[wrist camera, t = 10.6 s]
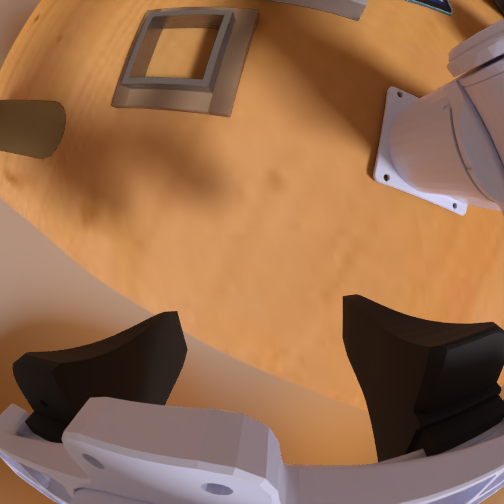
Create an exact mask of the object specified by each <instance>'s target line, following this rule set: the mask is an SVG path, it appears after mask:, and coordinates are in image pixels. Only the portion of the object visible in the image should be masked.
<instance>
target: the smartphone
mask: <svg viewBox="0 0 504 504" xmlns="http://www.w3.org/2000/svg"><path fill="white" fill-rule="evenodd" d="M405 1H408V2H412V3H415V4H419V5H421V6H424V7H428V8H430V9H433V10H437V11H439V12H442V13H444V14H446V15H452V14H453V9H452V7H451V5H450V3H449V1H448V0H405Z"/></svg>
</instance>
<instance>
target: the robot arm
mask: <svg viewBox="0 0 504 504" xmlns="http://www.w3.org/2000/svg"><path fill="white" fill-rule="evenodd" d="M449 62H450V63H449V64H448V65H447V68H448V70H449V71H450V73H451V74H452V75H453V77H456V76H458V75H460V74H462V75H461V76H459V77H458V78H456V79H455V80H453V81H451V82H449V83H447V84H446V85H444V86H442V87H440V88H438V89H436V90H434V91H432V92H430V93H428V94H427V95H425V96H423V97H421V98H418V97H416V96H414V95H412V94H409V93H407V92H405V91H403V90H401V89H398V88H396V87H393V86H392V87H390V88H388V90H387V96H386V104H385V111H384V118H383V124H382V130H381V136H380V142H379V147H378V152H377V158H376V163H375V167H374V172H373V178H374V180H375V181H377V182H379V183H382V184H384V185H387V186H390V187H393V188H395V189H398V190H401V191H404V192H406V193H409V194H411V195H414V196H416V197H419V198H421V199H424V200H426V201H429V202H431V203H434V204H436V205H438V206H441V207H443V208H445V209H447V210H450V211H452V212H454V213H456V214H458V215H462V216H463V215H464V214H465V213H466V209H467V205H471V206H476V207H481V208H487V209H492V210H496V211H501V212H502V213H503V215H504V19H502V20H500V21H498V22H496V23H494V24H492V25H490V26H488V27H487V28H485V29H483V30H481V31H480V32H478V33H476V34H475V35H473V36H471V37H470V38H468V39H467V40H465V41H463V42H462V43H460V44H459V45H458V46H456V47H455V48H453V49H452V50H451V51H450V52H449ZM465 72H466V73H465ZM463 73H464V74H463ZM397 93H399V94H400V95H401V97H399V96H398V95H397ZM385 174H386V175H387V177H388V179H387V181H385V180H384V175H385ZM453 204H454V205H455V206H454V208H453ZM343 341H344V345H345V349H346V352H347V356H348V358H349V361H350V363H351V365H352V368H353V370H354V372H355V375H356V377H357V379H358V382H359V384H360V386H361V389H362V391H363V394H364V397H365V400H366V403H367V407H368V411H369V415H370V419H371V424H372V429H373V434H374V439H375V445H376V450H377V457H378V463H374V464H367V465H347V466H346V465H341V466H329V465H327V466H325V465H302V464H289V463H283V461H282V459H281V454H280V446H279V442H278V440H277V438H276V437H275V435H274V434H273V432H272V431H271V429H270V428H269V427H268V426H266V425H264V424H262V423H260V422H258V421H256V420H254V419H252V418H250V417H248V416H246V415H245V414H243V413H237V412H231V411H225V410H220V409H211V408H189V407H176V406H165V404H166V401H167V399H168V397H169V395H170V393H171V391H172V389H173V386H174V385H175V382H176V380H177V378H178V376H179V374H180V372H181V369H182V367H183V364H184V361H185V357H186V353H187V346H186V342H185V339H184V335H183V332H182V328H181V324H180V320H179V316H178V313H177V311H171V312H163V313H160V314H157V315H155V316H153V317H151V318H149V319H147V320H145V321H143V322H141V323H139V324H137V325H135V326H133V327H131V328H129V329H127V330H125V331H122V332H120V333H118V334H116V335H114V336H111V337H109V338H107V339H104V340H101V341H98V342H95V343H92V344H88V345H84V346H80V347H76V348H71V349H66V350H59V351H51V352H50V351H48V352H28V353H25V354H24V355H23V356H21V357H20V358H19V359H18V360H17V361H15V362H14V363H13V374H14V377H15V379H16V382H17V384H18V386H19V388H20V389H21V391H22V393H23V394H24V396H25V398H26V399H27V401H28V402H29V404H30V405H31V407H32V409H33V410H34V412H33V413H32V414H31V415H30V414H29V413H28V412H27V411H25V410H24V409H22V408H20V407H18V406H16V405H14V404H11V405H10V406H9V407H8V408H7V409H6V410H5V411H4V412H3V413H2V414H1V415H0V457H1V458H2V459H3V460H4V461H5V462H6V463H7V465H8V466H9V467H10V468H11V469H12V470H13V471H14V472H15V473H16V474H17V475H18V476H20V477H21V478H22V479H24V480H25V481H26V482H28V483H29V484H30V485H32V486H33V487H34V488H36V489H37V490H39V491H40V492H41V493H43V494H44V495H46V496H47V497H49V498H50V499H52V500H53V501H55V502H56V503H58V504H479V503H480V502H482V501H483V500H485V499H486V498H488V497H489V496H491V495H492V494H493V493H495V492H496V491H498V490H499V489H500V488H502V487H503V486H504V400H502V399H501V397H500V396H499V395H498V394H500V392H501V387H500V386H499V385H498V384H497V380H498V378H499V376H500V373H501V371H502V368H503V366H504V330H503V329H501V328H500V327H499V326H498V325H497V324H495V323H494V322H486V323H473V324H456V323H443V322H436V321H429V320H424V319H420V318H416V317H412V316H409V315H406V314H403V313H400V312H397V311H395V310H392V309H390V308H387V307H385V306H383V305H380V304H378V303H376V302H374V301H372V300H370V299H367V298H365V297H363V296H360V295H357V294H355V295H348V296H343Z"/></svg>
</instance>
